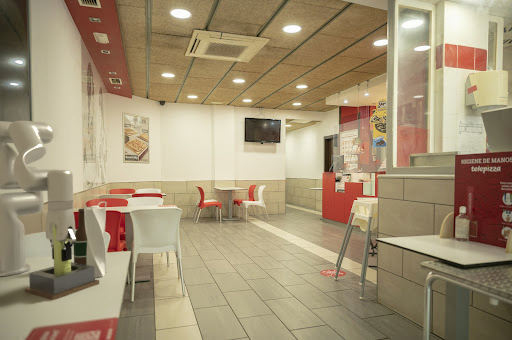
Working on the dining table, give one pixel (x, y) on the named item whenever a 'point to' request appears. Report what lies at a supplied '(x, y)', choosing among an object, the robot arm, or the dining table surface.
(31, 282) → the grey open tray box
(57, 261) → the tube
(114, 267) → the dining table surface
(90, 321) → the dining table surface
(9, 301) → the dining table surface
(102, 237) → the skyscraper
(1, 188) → the robot arm
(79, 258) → the beer bottle
